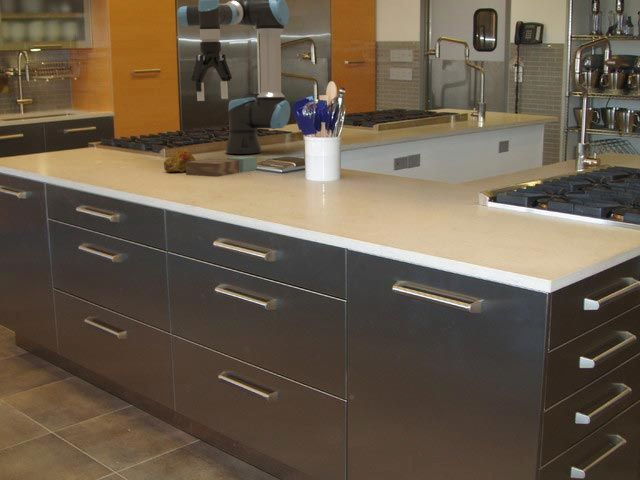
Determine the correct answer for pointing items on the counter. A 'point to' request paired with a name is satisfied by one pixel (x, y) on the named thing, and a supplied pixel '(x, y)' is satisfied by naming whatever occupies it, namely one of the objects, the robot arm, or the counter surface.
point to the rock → (178, 161)
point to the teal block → (246, 163)
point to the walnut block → (212, 167)
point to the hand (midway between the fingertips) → (212, 99)
